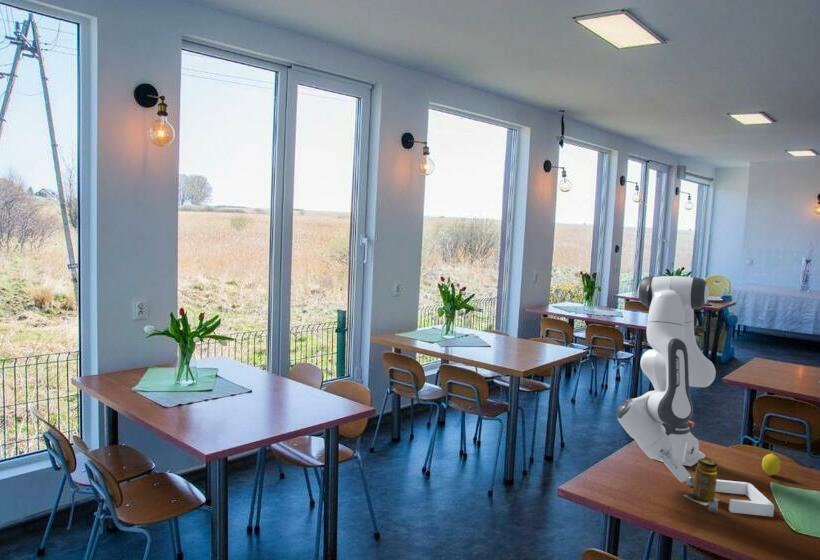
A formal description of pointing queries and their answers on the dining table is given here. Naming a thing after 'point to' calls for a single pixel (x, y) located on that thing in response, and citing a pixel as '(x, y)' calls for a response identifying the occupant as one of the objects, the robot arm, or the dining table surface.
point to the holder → (754, 507)
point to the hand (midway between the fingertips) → (686, 478)
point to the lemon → (771, 464)
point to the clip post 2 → (713, 507)
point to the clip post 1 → (691, 482)
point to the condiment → (704, 482)
